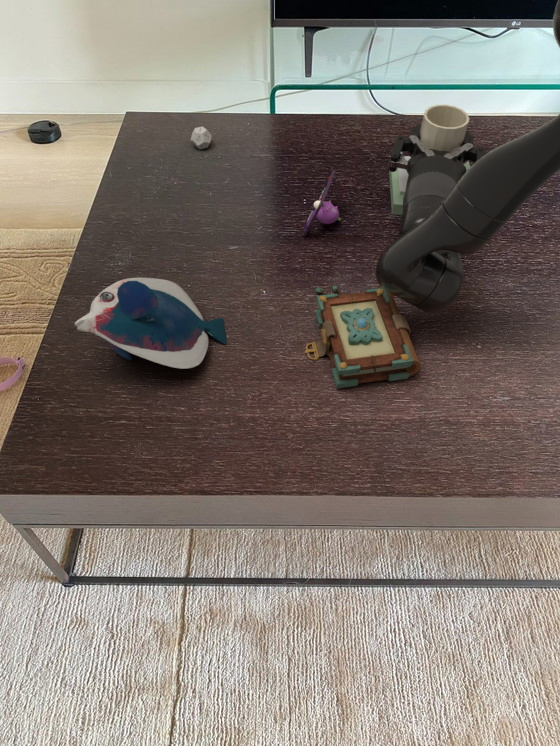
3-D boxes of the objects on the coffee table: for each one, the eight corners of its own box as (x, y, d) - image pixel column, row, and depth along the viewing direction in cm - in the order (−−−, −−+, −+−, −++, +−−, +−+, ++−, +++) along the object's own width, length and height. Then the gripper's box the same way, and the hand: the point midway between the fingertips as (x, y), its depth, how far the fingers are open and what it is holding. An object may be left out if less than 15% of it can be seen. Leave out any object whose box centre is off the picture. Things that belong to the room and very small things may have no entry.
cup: (461, 174, 100) (477, 115, 92) (438, 192, 97) (453, 133, 89) (426, 157, 103) (440, 99, 95) (403, 175, 99) (415, 116, 92)
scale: (465, 169, 105) (469, 155, 103) (475, 218, 97) (479, 204, 95) (388, 165, 105) (390, 152, 103) (391, 214, 98) (394, 200, 96)
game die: (214, 141, 110) (213, 125, 107) (208, 153, 107) (207, 137, 105) (195, 138, 110) (193, 122, 108) (189, 150, 108) (187, 134, 106)
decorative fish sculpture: (88, 314, 65) (88, 221, 74) (61, 384, 73) (64, 293, 82) (254, 346, 74) (237, 260, 83) (214, 404, 82) (202, 320, 91)
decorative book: (381, 282, 88) (386, 255, 84) (419, 379, 78) (427, 354, 74) (289, 293, 87) (290, 266, 83) (315, 394, 76) (317, 369, 72)
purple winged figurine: (329, 166, 94) (314, 202, 89) (359, 182, 94) (347, 218, 89) (312, 198, 99) (298, 234, 94) (341, 213, 100) (329, 249, 95)
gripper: (491, 181, 82) (495, 116, 92) (384, 165, 84) (399, 103, 94) (477, 226, 88) (482, 160, 98) (377, 210, 90) (392, 147, 100)
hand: (441, 133), depth 96 cm, fingers closed on cup, 6 cm apart
